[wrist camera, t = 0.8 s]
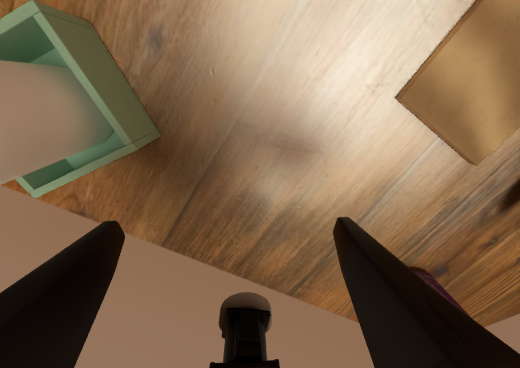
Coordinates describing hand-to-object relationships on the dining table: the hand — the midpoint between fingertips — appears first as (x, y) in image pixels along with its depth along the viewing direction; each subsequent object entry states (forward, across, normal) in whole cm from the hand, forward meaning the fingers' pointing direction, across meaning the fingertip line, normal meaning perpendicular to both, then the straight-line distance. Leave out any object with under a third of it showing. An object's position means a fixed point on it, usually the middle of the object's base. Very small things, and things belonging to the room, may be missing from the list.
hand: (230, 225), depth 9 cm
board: (+15, -23, -4) cm, 28 cm away
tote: (+14, +14, 0) cm, 20 cm away
